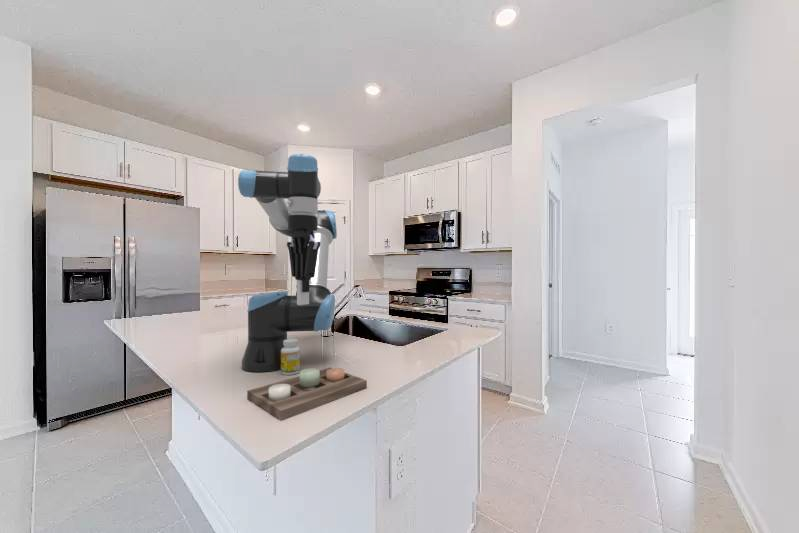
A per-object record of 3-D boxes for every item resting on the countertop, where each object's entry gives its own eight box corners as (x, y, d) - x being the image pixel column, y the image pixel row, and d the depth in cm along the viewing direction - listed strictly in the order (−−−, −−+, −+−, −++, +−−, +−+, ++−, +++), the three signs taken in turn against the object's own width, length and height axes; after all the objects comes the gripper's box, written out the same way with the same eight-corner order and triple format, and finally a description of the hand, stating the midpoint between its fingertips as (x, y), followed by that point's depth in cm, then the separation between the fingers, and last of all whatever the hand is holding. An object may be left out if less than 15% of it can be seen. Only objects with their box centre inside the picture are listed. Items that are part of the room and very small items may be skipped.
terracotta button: (322, 382, 87) (322, 371, 87) (337, 377, 91) (337, 366, 91) (333, 386, 84) (333, 375, 84) (348, 381, 87) (348, 370, 87)
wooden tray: (247, 399, 78) (247, 390, 78) (329, 374, 96) (329, 367, 96) (280, 420, 67) (280, 410, 67) (366, 387, 85) (366, 380, 85)
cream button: (264, 400, 75) (264, 387, 75) (284, 394, 79) (284, 382, 79) (274, 406, 72) (275, 393, 72) (294, 400, 76) (294, 387, 76)
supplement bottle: (300, 374, 96) (300, 341, 96) (281, 376, 93) (281, 343, 93) (298, 368, 101) (298, 337, 100) (280, 370, 98) (280, 339, 98)
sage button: (295, 383, 81) (295, 371, 81) (312, 378, 85) (312, 367, 85) (306, 388, 78) (306, 375, 78) (323, 383, 82) (323, 371, 81)
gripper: (277, 215, 87) (278, 303, 88) (303, 211, 78) (303, 308, 79) (302, 218, 93) (302, 300, 94) (329, 214, 84) (329, 305, 85)
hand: (303, 304), depth 86 cm, fingers closed
